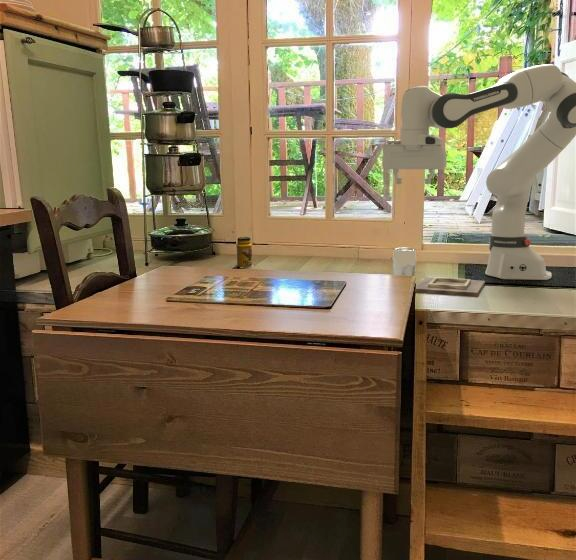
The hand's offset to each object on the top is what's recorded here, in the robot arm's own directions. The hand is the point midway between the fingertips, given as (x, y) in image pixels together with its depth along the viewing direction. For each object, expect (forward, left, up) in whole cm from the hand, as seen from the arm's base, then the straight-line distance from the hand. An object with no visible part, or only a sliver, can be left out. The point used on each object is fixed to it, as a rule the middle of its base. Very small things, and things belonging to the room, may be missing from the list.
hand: (413, 184), depth 199 cm
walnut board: (-12, -3, -34) cm, 36 cm away
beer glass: (-1, +14, -34) cm, 37 cm away
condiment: (+73, -19, -34) cm, 83 cm away
